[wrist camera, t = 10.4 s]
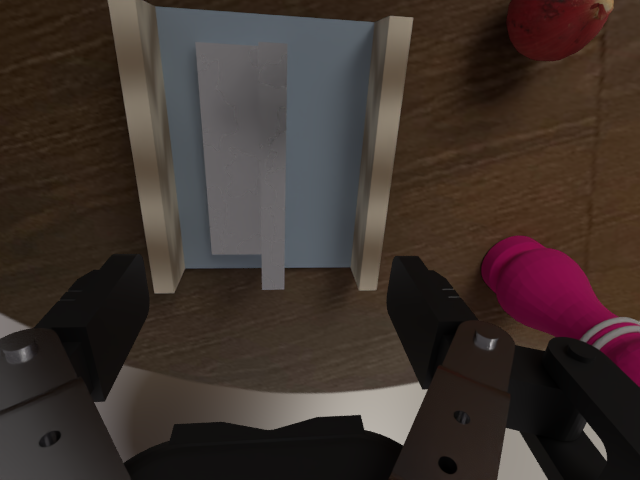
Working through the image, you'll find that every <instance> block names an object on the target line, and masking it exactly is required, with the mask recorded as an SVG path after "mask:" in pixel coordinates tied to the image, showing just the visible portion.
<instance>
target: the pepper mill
mask: <svg viewBox="0 0 640 480" xmlns="http://www.w3.org/2000/svg"><path fill="white" fill-rule="evenodd" d="M481 273H482V278H483V280H484V282H485V283H486V284H487V285H488V286H489V287H490V288H491V289H492V290H493V291H494V292H495V293H496V295H497V299H498V302H499V304H500V305H501V307H502V309H503V310H504V311H505V312H506V313H508V314H509V315H510V316H511V317H513V318H514V319H515V320H516V321H518V322H520V323H522V324H524V325H526V326H528V327H531V328H534V329H537V330H540V331H543V332H546V333H548V334H551V335H553V336H555V337H569V338H574V339H578V340H580V341H583V342H586V343H588V344H590V345H592V346H594V347H595V348H597V349H599V350H600V351H601V352H603V353H604V354H605V355H606V356H607V357H608V358H610V359H611V360H612V361H613V362H614V363H615V364H616V365H617V366H618V367H619V368H620V369H621V370H622V371H623V372H624V373H625V374H626V375H627V376H628V377H629V378H630V379H631V380H632V381H634V382H635V383H636V384H637V385H638V386H639V387H640V323H639V322H638V321H636V320H634V319H631V318H627V317H618V316H616V315H615V314H613V313H611V312H610V311H609V310H608V309H607V308H605V307H604V306H603V305H602V304H601V303H600V301H599V300H598V299H597V297H596V295H595V293H594V292H593V290H592V288H591V285H590V283H589V281H588V279H587V277H586V275H585V273H584V272H583V271H582V269H581V268H580V267H579V265H578V264H577V263H576V262H575V261H574V260H572V259H571V258H570V257H569V256H567V255H566V254H565V253H563V252H561V251H558V250H555V249H550V248H545V247H544V246H543V245H541V244H540V243H538V242H537V241H535V240H534V239H532V238H530V237H526V236H513V237H509V238H506V239H504V240H501V241H500V242H498V243H497V244H496V245H494V246H493V247H492V248H491V249H490V250H489V252H488V253H487V255H486V256H485V258H484V260H483V263H482V268H481Z"/></svg>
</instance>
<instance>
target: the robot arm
mask: <svg viewBox="0 0 640 480" xmlns="http://www.w3.org/2000/svg"><path fill="white" fill-rule="evenodd" d="M387 310H388V314H389V316H390V318H391V321H392V323H393V325H394V327H395V330H396V332H397V334H398V336H399V338H400V341H401V343H402V345H403V347H404V350H405V352H406V354H407V356H408V358H409V361H410V363H411V365H412V367H413V370H414V372H415V374H416V376H417V378H418V381H419V383H420V385H421V387H422V389H428V391H427V393H426V395H425V398H424V400H423V402H422V404H421V407H420V409H419V411H418V414H417V416H416V418H415V420H414V423H413V425H412V427H411V430H410V432H409V434H408V436H407V439H406V441H405V443H404V445H401V444H399V443H397V442H396V441H394V440H392V439H390V438H387V437H385V436H383V435H381V434H377V433H374V432H371V431H366V430H364V428H363V423H362V419H361V415H352V416H332V417H316V418H313V419H309V420H306V421H302V422H299V423H295V424H292V425H288V426H285V427H281V428H278V429H274V430H263V429H258V428H252V427H247V426H241V425H236V424H231V423H225V422H211V423H191V424H175V425H174V427H173V431H172V434H171V438H170V441H167V442H164V443H161V444H159V445H156V446H154V447H151V448H149V449H147V450H145V451H143V452H141V453H139V454H137V455H135V456H134V457H132V458H131V459H129V460H127V461H126V462H125V463H123V461H122V459H121V457H120V455H119V453H118V451H117V449H116V447H115V445H114V443H113V441H112V439H111V437H110V435H109V432H108V430H107V428H106V426H105V424H104V422H103V420H102V418H101V416H100V414H99V412H98V410H97V408H96V406H95V403H94V402H103V401H105V400H106V398H107V396H108V394H109V392H110V390H111V388H112V386H113V384H114V382H115V380H116V378H117V376H118V374H119V372H120V370H121V368H122V366H123V364H124V362H125V360H126V358H127V356H128V354H129V352H130V350H131V348H132V346H133V344H134V342H135V340H136V338H137V336H138V334H139V332H140V330H141V328H142V326H143V324H144V322H145V320H146V318H147V315H148V311H149V292H148V286H147V280H146V273H145V267H144V261H143V258H142V256H141V255H140V254H113V255H112V256H111V257H110V258H109V259H108V260H107V261H106V263H105V264H104V265H103V266H102V267H101V269H100V270H93V271H91V272H89V273H87V274H86V275H84V276H82V277H81V278H79V279H77V281H76V282H75V283H74V284H73V285H72V286H71V287H70V288H69V289H68V292H66V293H65V294H64V295H63V296H62V297H61V298H60V301H58V302H57V303H56V304H55V305H54V306H53V307H52V308H51V309H50V311H49V312H48V313H47V314H46V315H45V316H44V317H43V318H42V319H41V321H40V322H39V323H38V324H37V325H36V326H35V327H34V328H32V329H26V330H22V331H18V332H15V333H12V334H9V335H7V336H5V337H3V338H1V339H0V480H497V476H498V470H499V464H500V458H501V452H502V446H503V440H504V434H505V428H509V429H513V430H517V431H520V433H521V435H522V436H523V438H524V440H525V441H526V443H527V445H528V447H529V448H530V450H531V452H532V453H533V455H534V457H535V458H536V460H537V462H538V463H539V465H540V467H541V468H542V470H543V472H544V473H545V475H546V477H547V478H548V480H640V387H639V386H638V385H637V384H636V383H635V382H634V381H632V380H631V379H630V378H629V377H628V376H627V375H626V374H625V373H624V372H623V371H622V370H621V369H620V368H619V367H618V366H617V365H616V364H615V363H614V362H613V361H612V360H611V359H610V358H608V357H607V356H606V355H605V354H604V353H603V352H601V351H600V350H599V349H597V348H595V347H594V346H592V345H590V344H588V343H586V342H583V341H580V340H578V339H574V338H569V337H556V338H553V339H551V340H550V341H549V343H548V346H547V348H546V351H542V350H536V349H531V348H526V347H521V346H517V345H515V343H514V340H513V339H512V337H511V336H510V335H509V334H508V333H507V332H505V331H504V330H503V329H501V328H499V327H498V326H496V325H493V324H491V323H488V322H484V321H479V320H478V319H477V318H476V316H475V315H474V314H473V313H472V311H471V310H470V309H469V308H468V306H467V305H466V304H465V302H464V301H463V300H462V299H461V298H459V295H458V293H457V292H456V291H455V290H453V287H452V286H451V285H450V283H449V282H448V281H447V279H446V278H444V277H443V276H441V275H440V274H438V273H437V272H435V271H434V270H428V269H427V267H426V266H425V265H424V263H423V262H422V260H421V259H420V258H419V257H418V256H395V257H394V259H393V262H392V268H391V274H390V280H389V286H388V292H387ZM586 422H587V423H588V424H589V425H590V426H591V428H592V429H593V430H594V431H595V432H596V434H597V435H598V436H599V438H600V439H601V440H602V442H603V444H604V446H605V449H606V452H607V461H606V460H605V459H604V457H603V456H602V455H601V453H600V452H599V451H598V449H597V448H596V447H595V446H594V444H593V443H592V442H591V441H590V439H589V438H588V436H587V435H586V434H585V433H584V431H583V429H584V427H585V424H586Z"/></svg>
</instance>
